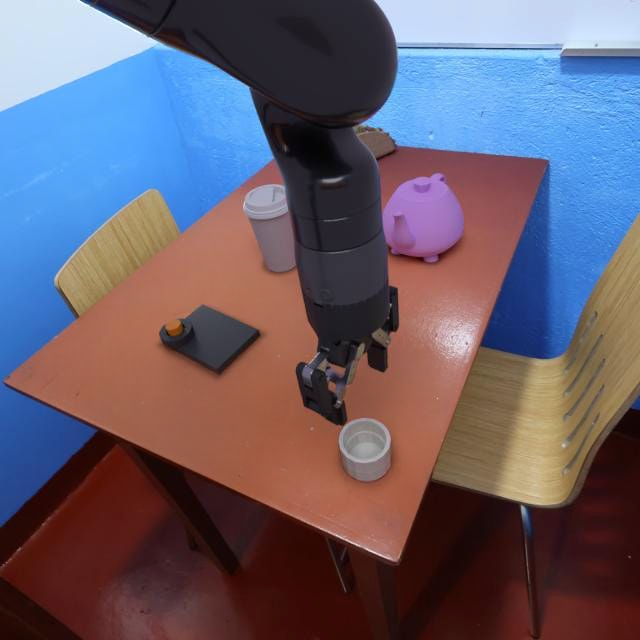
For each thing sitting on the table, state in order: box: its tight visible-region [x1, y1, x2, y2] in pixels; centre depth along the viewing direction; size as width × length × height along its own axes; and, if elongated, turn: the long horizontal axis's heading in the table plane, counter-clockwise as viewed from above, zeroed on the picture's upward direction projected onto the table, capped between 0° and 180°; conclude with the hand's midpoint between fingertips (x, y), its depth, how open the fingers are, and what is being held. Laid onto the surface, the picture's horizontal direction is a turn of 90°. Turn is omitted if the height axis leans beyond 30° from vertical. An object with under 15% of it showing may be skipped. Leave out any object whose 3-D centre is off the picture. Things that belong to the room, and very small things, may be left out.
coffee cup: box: [242, 183, 296, 273], centre depth 89 cm, size 10×10×15 cm
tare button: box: [165, 318, 184, 336], centre depth 79 cm, size 3×3×2 cm
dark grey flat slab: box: [158, 303, 261, 376], centre depth 79 cm, size 11×14×3 cm
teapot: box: [382, 172, 465, 263], centre depth 87 cm, size 22×16×14 cm
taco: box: [353, 124, 398, 160], centre depth 117 cm, size 10×27×10 cm, turn 124°
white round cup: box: [338, 417, 393, 483], centre depth 58 cm, size 6×6×5 cm
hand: (358, 393), depth 50 cm, fingers open, 7 cm apart
